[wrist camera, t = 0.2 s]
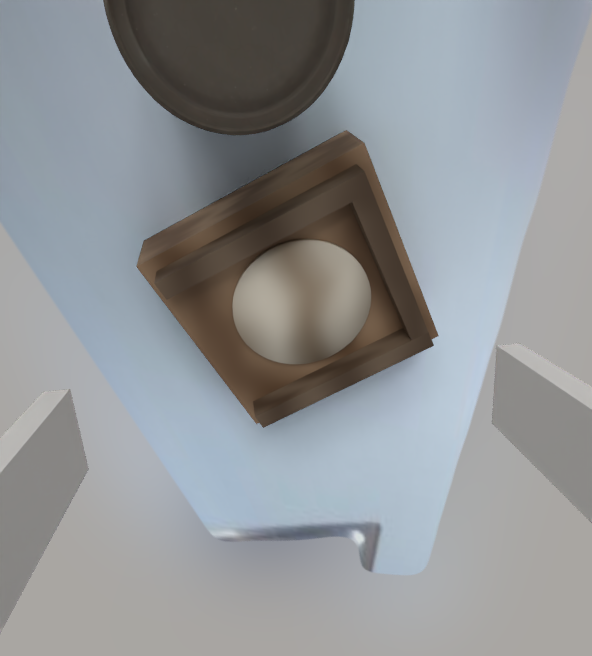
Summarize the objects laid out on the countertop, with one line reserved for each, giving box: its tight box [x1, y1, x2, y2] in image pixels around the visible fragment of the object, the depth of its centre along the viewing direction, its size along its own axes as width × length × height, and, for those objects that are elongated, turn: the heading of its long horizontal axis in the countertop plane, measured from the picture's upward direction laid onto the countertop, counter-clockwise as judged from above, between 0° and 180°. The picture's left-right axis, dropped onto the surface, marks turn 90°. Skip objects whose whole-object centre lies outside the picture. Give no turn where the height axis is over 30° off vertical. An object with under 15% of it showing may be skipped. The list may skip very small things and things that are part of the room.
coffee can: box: [103, 0, 355, 135], centre depth 26 cm, size 10×10×14 cm
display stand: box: [136, 130, 438, 428], centre depth 40 cm, size 18×18×7 cm
